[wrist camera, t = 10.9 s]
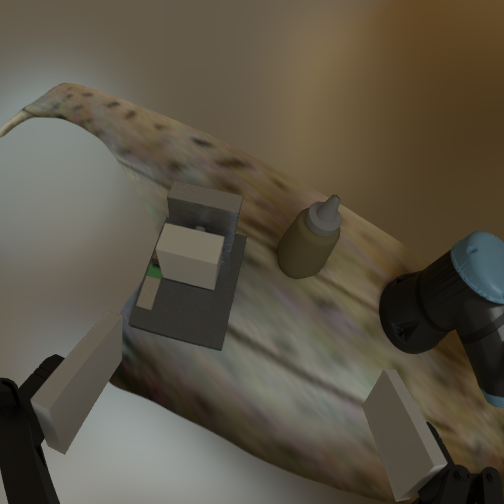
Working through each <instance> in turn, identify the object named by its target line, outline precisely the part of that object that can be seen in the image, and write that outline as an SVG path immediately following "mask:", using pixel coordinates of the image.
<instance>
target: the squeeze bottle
mask: <svg viewBox="0 0 504 504" xmlns="http://www.w3.org/2000/svg"><path fill="white" fill-rule="evenodd" d="M339 203H340V198H339V197H338V196H337V195H332V196H331V197H330V198H329V199H328V200H327V201H326V202H316V203H314V204H312V205H311V207H309V208H307V209H304V210H302V211H301V213H300V214H299V215H298V216H297V217H296V219H295V220H294V222H293V223H292V225H291V226H290V227H289V229H288V230H287V232H286V233H285V234H284V236H283V237H282V239H281V240H280V242H279V245H278V249H277V253H278V259H279V264H280V268H281V269H282V271H283V272H284V273H285V274H286V275H287V276H289V277H291V278H294V279H301V278H306V277H310V276H313V275H314V274H316V273H318V272H319V271H320V270H321V269H322V267H323V266H324V264H325V262H326V261H327V259H328V257H329V255H330V254H331V252H332V250H333V248H334V246H335V245H336V243H337V241H338V239H339V237H340V227H339V226H340V225H341V216H340V213H339V212H338V207H339Z"/></svg>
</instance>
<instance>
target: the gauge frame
mask: <svg viewBox="0 0 504 504" xmlns="http://www.w3.org/2000/svg"><path fill="white" fill-rule="evenodd" d="M242 199H243V196H240V195H236V194H232V193H228V192H223V191H219V190H214V189H210V188H205V187H201V186H196V185H192V184H187V183H182V182H177V181H174V183H173V185H172V187H171V189H170V192H169V194H168V196H167V200H168V208H169V216H170V218H166V220H165V223H168V224H172V225H176V226H181V227H185V228H189V229H193V230H195V227H196V226H201V227H203V228H205V230H206V231H205V232H206V233H210V234H215V235H219V236H223V237H225V238H224V244H223V251H222V258H221V265H220V270H219V274H218V278H217V281H216V285H215V289H214V290H211V289H207V288H203V287H199V286H195V285H191V284H187V283H183V282H179V281H175V280H171V279H167V278H164V277H163V275H162V271H161V268H160V265H157V264H153V263H151V259H152V258H154V259H158V257H157V253H156V246H157V243H158V241H159V238H160V236H161V233H162V231H163V228H164V225H165V223H164V225H163V228H162V230H161V233H160V235H159V238H158V241H157V243H156V246H155V248H154V251H153V254H152V256H151V259H150V262H149V265H148V267H147V270H146V273H145V276H144V279H143V282H142V284H141V287H140V290H139V293H138V296H137V299H136V302H135V305H134V308H133V312H132V315H131V318H130V321H129V325H130V326H131V327H134V328H137V329H141V330H144V331H147V332H151V333H154V334H157V335H161V336H165V337H168V338H172V339H175V340H179V341H183V342H187V343H191V344H194V345H198V346H202V347H207V348H211V349H215V350H219V351H221V350H222V346H223V342H224V337H225V333H226V328H227V324H228V319H229V315H230V310H231V306H232V301H233V297H234V292H235V288H236V283H237V279H238V274H239V270H240V266H241V261H242V257H243V252H244V248H245V243H246V239H247V236H243V235H239V234H235V233H236V228H237V223H238V218H239V214H240V209H241V204H242Z"/></svg>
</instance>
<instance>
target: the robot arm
mask: <svg viewBox="0 0 504 504" xmlns="http://www.w3.org/2000/svg"><path fill="white" fill-rule="evenodd" d="M380 319H381V323H382V326H383V329H384V331H385V333H386V335H387V337H388V338H389V340H390V341H391V342H392V343H393V344H394V345H395V346H396V347H397V348H398V349H400V350H402V351H403V352H406V353H409V354H419V353H422V352H425V351H428V350H430V349H432V348H433V347H435V346H436V345H437V344H438V343H439V342H440V341H441V340H442V339H443V338H444V337H445V336H446V335H447V334H448V333H449V332H450V331H452V330H454V329H456V331H457V334H458V336H459V338H460V340H461V342H462V344H463V347H464V349H465V351H466V354H467V356H468V358H469V361H470V363H471V366H472V368H473V371H474V373H475V376H476V379H477V382H478V385H479V388H480V390H481V391H482V392H483V394H484V397H485V399H486V400H487V402H488V403H489V404H491V405H493V406H495V407H500V408H504V242H503V241H502V240H500V239H499V238H498V237H496V236H495V235H492V234H491V233H489V232H486V231H476V232H473V233H471V234H470V235H468V236H467V237H466V238H464V239H463V240H460V241H458V242H457V243H455V244H454V245H453V247H452V249H451V250H449V251H448V252H447V253H445V254H444V255H443V256H442V257H440V258H439V259H438V260H436V261H435V262H434V263H432V264H431V265H429V266H428V267H427V268H426V269H424V270H423V271H418V272H413V273H408V274H404V275H401V276H399V277H397V278H396V279H395V280H393V281H392V282H391V283H390V284H388V286H387V287H386V288H385V290H384V292H383V294H382V296H381V300H380ZM122 322H123V315H121V314H117V313H114V312H111V311H108V312H107V313H106V314H105V315H104V316H103V317H102V318H101V320H100V321H98V323H97V324H96V325H95V326H94V327H93V328H92V329H91V330H90V331H89V332H88V333H87V335H86V336H85V337H84V338H83V339H82V340H81V341H80V342H79V343H78V345H77V346H76V347H75V348H74V349H73V350H72V351H71V352H70V354H69V355H68V356H67V357H66V358H63V357H61V356H59V355H57V354H55V355H53V356H51V357H48V358H46V359H45V360H44V361H43V363H42V364H40V366H39V368H37V369H36V370H35V371H34V373H33V374H31V375H30V376H29V378H28V379H27V380H26V381H25V382H24V383H23V384H22V385H21V386H20V388H19V389H18V386H17V385H16V384H15V383H14V381H12V380H10V379H8V378H0V470H1V474H2V479H3V483H4V488H5V492H6V496H7V500H8V504H60V502H59V500H58V497H57V494H56V491H55V489H54V486H53V483H52V480H51V477H50V474H49V471H48V467H47V464H46V461H45V457H44V454H43V450H42V447H41V443H42V442H43V440H44V438H45V440H46V442H47V444H48V446H49V447H51V448H53V449H55V450H57V451H59V452H60V453H63V454H65V453H66V452H67V450H68V448H69V446H70V445H71V443H72V441H73V439H74V438H75V436H76V434H77V432H78V431H79V429H80V427H81V426H82V423H83V422H84V420H85V419H86V417H87V415H88V414H89V412H90V410H91V409H92V407H93V405H94V403H95V402H96V400H97V399H98V397H99V395H100V394H101V392H102V391H103V389H104V387H105V386H106V384H107V383H108V381H109V379H110V378H111V376H112V375H113V373H114V371H115V370H116V368H117V367H118V365H119V363H120V362H121V360H122ZM362 407H363V410H364V412H365V415H366V418H367V420H368V423H369V426H370V428H371V431H372V434H373V437H374V439H375V442H376V445H377V448H378V450H379V453H380V456H381V459H382V462H383V465H384V467H385V470H386V473H387V476H388V479H389V482H390V485H391V488H392V491H393V494H394V497H395V500H396V502H397V501H402V500H407V499H410V498H411V497H412V496H414V495H415V494H416V493H417V492H418V494H419V496H420V497H418V498H417V499H416V500H415V501H414V502H412V503H411V504H504V500H503V491H502V484H501V477H500V474H499V473H498V471H497V470H496V469H495V468H492V467H486V468H484V469H483V470H482V471H481V472H480V473H479V474H473V473H470V472H469V471H468V469H467V468H465V467H464V466H462V465H455V464H454V462H453V460H452V458H451V457H450V455H449V453H448V451H447V449H446V447H445V445H444V444H443V442H442V440H441V438H439V434H438V433H437V431H436V429H435V428H434V427H433V426H432V425H431V424H430V423H429V422H425V420H424V418H423V416H422V415H421V413H420V411H419V409H418V407H417V406H416V404H415V402H414V400H413V399H412V397H411V395H410V393H409V392H408V390H407V388H406V387H405V385H404V383H403V381H402V380H401V378H400V376H399V375H398V373H397V371H396V370H392V369H384V370H383V372H382V373H381V375H380V377H379V379H378V381H377V382H376V384H375V386H374V387H373V389H372V391H371V393H370V394H369V396H368V398H367V399H366V401H365V402H364V404H363V406H362Z"/></svg>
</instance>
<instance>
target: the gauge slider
mask: <svg viewBox="0 0 504 504" xmlns="http://www.w3.org/2000/svg"><path fill="white" fill-rule="evenodd" d="M205 231H206V230H205V228H203V227H201V226H196V227H195V230H193V229H189V228H185V227H181V226H176V225H172V224H168V223H165V225H164V228H163V231H162V233H161V236H160V238H159V241H158V243H157V246H156V253H157V257H158V259H154V258H152V259H151V263H153V264H157V265H160V268H161V271H162V275H163V277H164V278H167V279H171V280H175V281H179V282H183V283H187V284H191V285H195V286H199V287H203V288H207V289H211V290H214V289H215V285H216V281H217V278H218V274H219V270H220V265H221V258H222V251H223V244H224V238H225V237H223V236H219V235H215V234H210V233H206V232H205Z"/></svg>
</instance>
